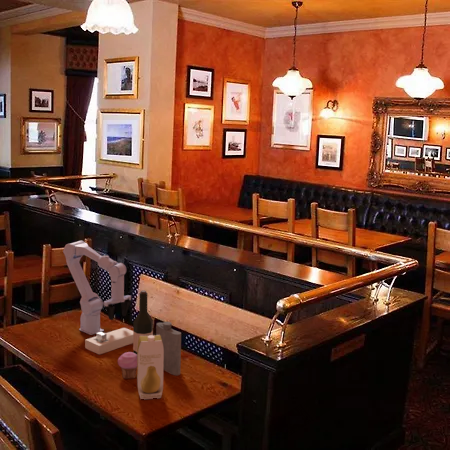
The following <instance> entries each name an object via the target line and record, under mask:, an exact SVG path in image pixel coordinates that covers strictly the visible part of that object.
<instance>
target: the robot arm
mask: <svg viewBox="0 0 450 450" xmlns="http://www.w3.org/2000/svg"><path fill="white" fill-rule="evenodd" d="M62 252H63V255H64V257H65V261H66V265H67V267H68V269H69V272H70V274H71V277H72V279H73V280H74V282H75V285H76V287H77V290H78V291H79V293H80V296H81V298H80V301H79V304H80V308H81V315H80V321H79V322H80V328H78V330H79V331H81V332H82V333H86V334H87V335H91V336H92V335H95V334H96V333H98V332H105V330H104V329H103V328H101V312H102V311H101V310H102V309H103V308H105V310H106V312H107V317H108V319H109V320H110V321H114V315H115V314H114V313H115V309H116V307H115V306H113V305H115V304H119V303H120V306H121V316H122V317H126V316H127V314H128V310H129V307H130V306H131V304H132V301H131V300H132V295H129V294H127V295H125V291H124V290H125V275H126V273H127V267H126V265H125V264H124V263H123V262H118V261H116V260H114V259H112V258H110V256H109V255H101V254H100V253H98V252H97V251H96V250H95V249H93V248H92V247H90V246H89V244H88V243H86V242H85V241H84V240H78V241H74V242H71V243H67V244H65V246H64V248H63V251H62ZM83 256H86V257H88V258H90V259H91V260H92V261H95V262H97V265H98V266H99V267H100V268H101V269H102V270H105V271H106V272H107V273H108V275H109V277H110V280H111V289H110V291H111V294H110V295H111V298H109V299H107V300H104V301H103V299H102V298H101V297H100V296H99V295H98V293H96V292H93V289H92V288H91V285H90V283H89V281H88V279H87V277H86V274H85V272H84V270H83V267H82V264H81V263H80V261H81V258H82V257H83Z"/></svg>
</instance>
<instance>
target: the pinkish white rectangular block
mask: <svg viewBox="0 0 450 450" xmlns="http://www.w3.org/2000/svg"><path fill="white" fill-rule="evenodd" d="M105 333H106V332H104V331H102V332H98V333H95V334H96V336H95V337H96V340H97V341H98V342H100V343H103V342H106V341H107V334H105Z"/></svg>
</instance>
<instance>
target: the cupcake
mask: <svg viewBox="0 0 450 450" xmlns="http://www.w3.org/2000/svg"><path fill="white" fill-rule="evenodd" d="M117 365H118V366H119V367H120V369H121V375H122V378H123V379H127V380H128V379H135V378H137V354H135V353H133V351H128V352H127V351H126V352H124V353H122V354H121V355H120V356H119V357H118V359H117Z"/></svg>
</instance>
